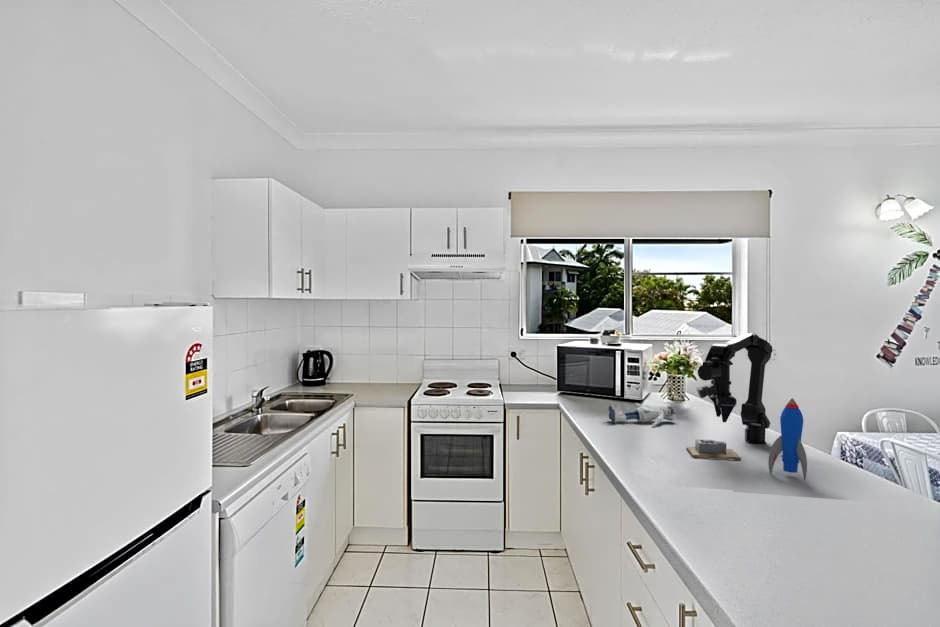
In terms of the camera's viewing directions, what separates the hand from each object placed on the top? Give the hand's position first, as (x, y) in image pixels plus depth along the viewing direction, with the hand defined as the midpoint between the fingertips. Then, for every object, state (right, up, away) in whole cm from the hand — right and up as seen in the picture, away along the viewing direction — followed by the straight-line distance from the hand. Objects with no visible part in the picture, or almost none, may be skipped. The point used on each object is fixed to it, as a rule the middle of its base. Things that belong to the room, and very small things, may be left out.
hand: (721, 419), depth 217 cm
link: (-7, -10, -7) cm, 14 cm away
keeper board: (-6, -11, -7) cm, 15 cm away
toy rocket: (+7, -13, -32) cm, 35 cm away
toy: (-15, -10, +47) cm, 51 cm away
